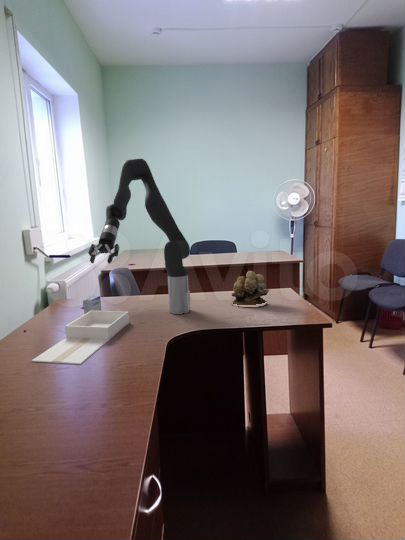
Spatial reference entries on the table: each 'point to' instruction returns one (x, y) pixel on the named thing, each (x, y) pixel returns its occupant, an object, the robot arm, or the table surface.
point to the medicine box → (92, 304)
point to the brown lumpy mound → (249, 289)
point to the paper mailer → (85, 337)
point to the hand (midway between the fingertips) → (100, 262)
